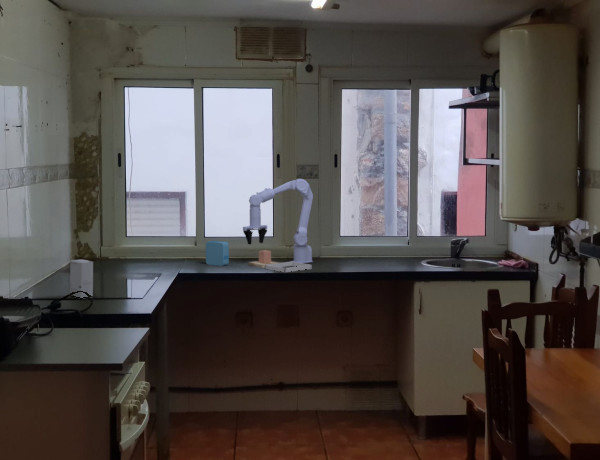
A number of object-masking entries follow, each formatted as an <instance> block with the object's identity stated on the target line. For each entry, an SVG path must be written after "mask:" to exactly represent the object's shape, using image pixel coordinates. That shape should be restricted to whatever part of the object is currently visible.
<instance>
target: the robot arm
mask: <svg viewBox="0 0 600 460" xmlns="http://www.w3.org/2000/svg"><path fill="white" fill-rule="evenodd" d="M288 190H291V191H295V190H296V191H297V192H299V193H300V194H301V196H302V197H303V198H302V200H303V201H302V204H301V210H300V216H299V220H298V226H297V229H296V232H295V233H294V236H293V241H294V244H293V260H290V261H289V262H298V263H304V264H309V263H314V261H313V250H312V247H311V246H310V245H308V244H307V243H308V236H307V235H308V225H309V220H310V214H311V210H312V204H313V201H314V200H313V198H314V193H313V192H312V189H311V186H310V184H309V182H308V181H307V180H306V179H303V178H297V179H294V180H290V181H287V182H285V183H284V184H281V185H279V186H277V187H275V188H270V187H268V188H264V190H262V191H260V192H259V191H258V192H256V193H255V194H253V195H252V194H251V196H250V197H249V200H248V201H249V204H250V205H249V225H248V226H243V227H242V231H243V234H244V236H245V238H246V242H247V245H252V240H253V239H252V236H253V233H254V231H257V233H258V242H259V244H263V243H264V240H265V237H266V234H267V232H268V225H266V224H265V225H263V224H262V223H261V219H262V217H261V214H262V213H261V211H262V210H261V204H263V203H267V202H268V201H270V200H273V199H274V198H275V195H278V194H281V193H283V192H285V191H288Z"/></svg>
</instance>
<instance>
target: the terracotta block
mask: <svg viewBox="0 0 600 460" xmlns="http://www.w3.org/2000/svg"><path fill="white" fill-rule="evenodd" d="M258 261H259V263H271V261H272V251H271V250H266V249H264V250H258Z"/></svg>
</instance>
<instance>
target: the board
mask: <svg viewBox="0 0 600 460" xmlns="http://www.w3.org/2000/svg"><path fill="white" fill-rule="evenodd" d="M276 263H281V262H280V261H274V260H271V263H259V260H257V261H248V263H247V265H248V266H250V267H256V268H261V269H265V265H268V264H276Z"/></svg>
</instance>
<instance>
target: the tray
mask: <svg viewBox="0 0 600 460" xmlns="http://www.w3.org/2000/svg"><path fill="white" fill-rule="evenodd" d="M296 266H297V267H296ZM264 269H265V270H270V271H274V270H275V271H274V272H280V271H281V272H280V273H290V272H291V271H292V272H299V271H298V270H300V271H306V270H305V269H307V270H312V269H313V264H309V263H298V262H290V261H285V262H280V263H276V264H268V265H265V268H264ZM292 272H291V273H292Z"/></svg>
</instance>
